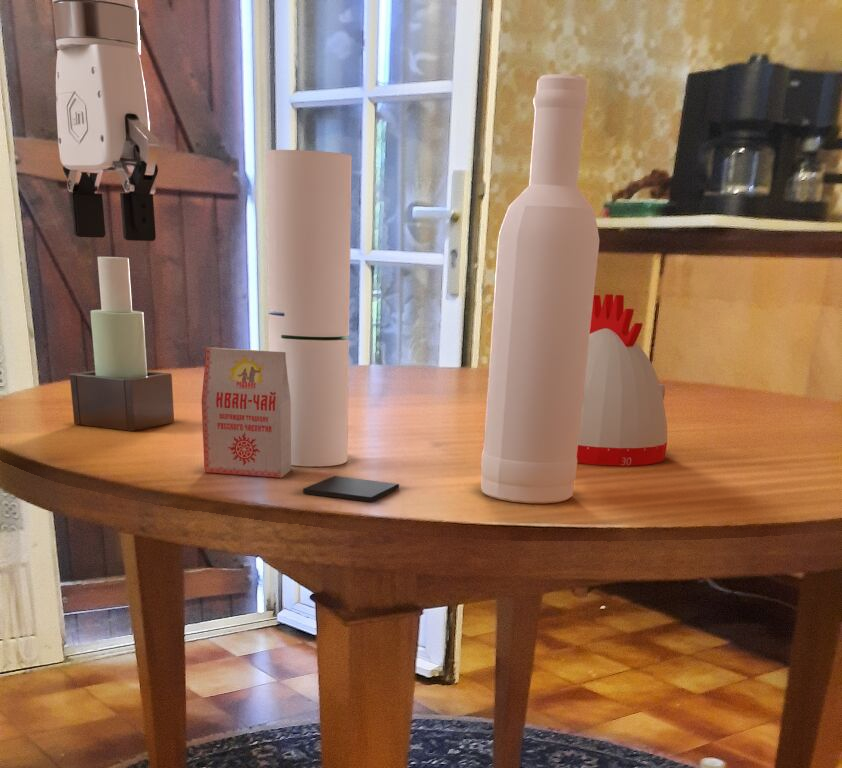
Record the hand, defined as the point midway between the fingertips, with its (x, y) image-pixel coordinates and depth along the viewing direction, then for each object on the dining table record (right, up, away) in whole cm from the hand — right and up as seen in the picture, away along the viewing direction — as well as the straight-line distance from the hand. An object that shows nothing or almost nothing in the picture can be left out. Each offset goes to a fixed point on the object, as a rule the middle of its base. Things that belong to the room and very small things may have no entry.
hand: (114, 238), depth 106 cm
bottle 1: (-1, -16, +7) cm, 18 cm away
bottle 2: (+39, -29, -15) cm, 51 cm away
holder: (-1, -16, +7) cm, 18 cm away
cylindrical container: (+20, -24, -6) cm, 32 cm away
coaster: (+25, -29, -18) cm, 42 cm away
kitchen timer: (+48, -20, +4) cm, 53 cm away
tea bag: (+15, -26, -12) cm, 33 cm away
